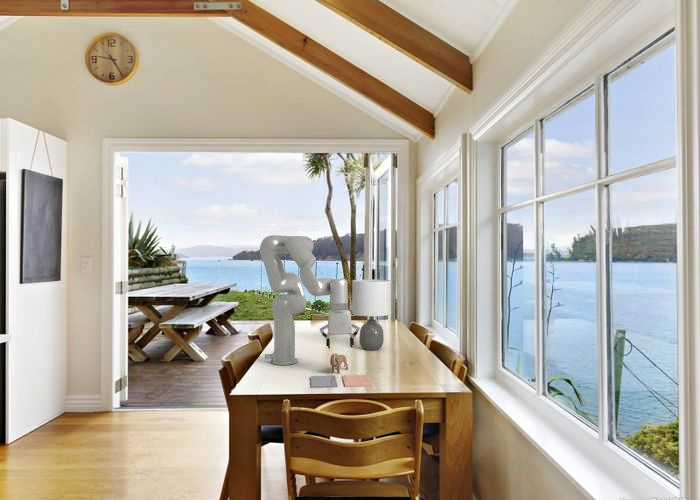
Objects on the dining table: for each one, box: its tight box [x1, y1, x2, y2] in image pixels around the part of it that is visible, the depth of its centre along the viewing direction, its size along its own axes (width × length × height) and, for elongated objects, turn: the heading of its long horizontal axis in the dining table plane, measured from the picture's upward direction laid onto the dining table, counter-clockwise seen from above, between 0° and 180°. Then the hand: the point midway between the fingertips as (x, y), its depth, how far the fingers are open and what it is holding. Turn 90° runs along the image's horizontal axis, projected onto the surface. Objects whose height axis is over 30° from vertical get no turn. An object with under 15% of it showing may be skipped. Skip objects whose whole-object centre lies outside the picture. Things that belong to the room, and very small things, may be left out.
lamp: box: [351, 279, 392, 351], centre depth 267 cm, size 21×21×37 cm
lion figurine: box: [329, 352, 349, 375], centre depth 216 cm, size 15×5×9 cm, turn 163°
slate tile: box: [310, 375, 339, 389], centre depth 198 cm, size 10×16×1 cm, turn 6°
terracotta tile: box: [342, 374, 372, 388], centre depth 199 cm, size 10×16×1 cm, turn 5°
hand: (340, 347), depth 214 cm, fingers open, 9 cm apart
